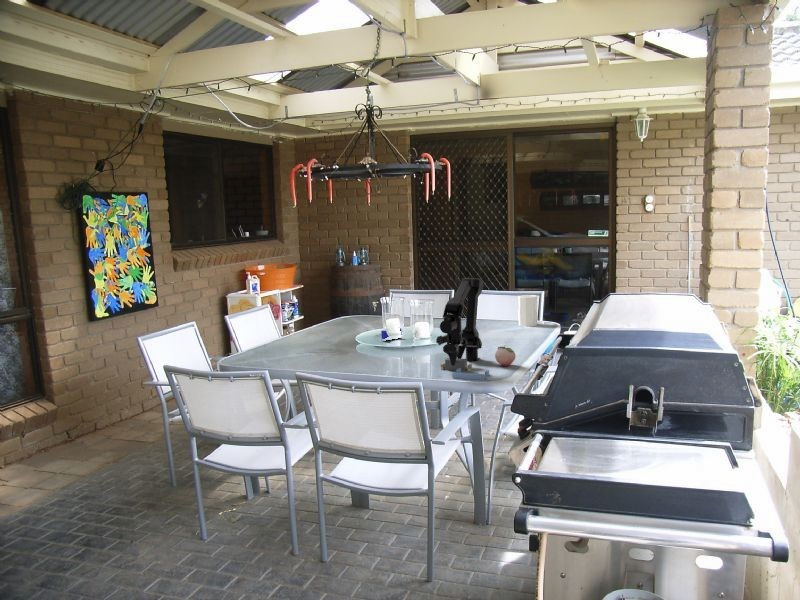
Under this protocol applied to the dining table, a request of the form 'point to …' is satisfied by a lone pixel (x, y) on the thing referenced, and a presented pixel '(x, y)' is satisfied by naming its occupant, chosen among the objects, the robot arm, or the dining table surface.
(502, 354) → the decorative fruit
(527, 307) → the cup
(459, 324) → the robot arm
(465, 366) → the tall grey block
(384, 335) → the cable clip
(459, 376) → the separate blue rectangular blocks
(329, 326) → the dining table surface
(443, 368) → the tan wooden block
